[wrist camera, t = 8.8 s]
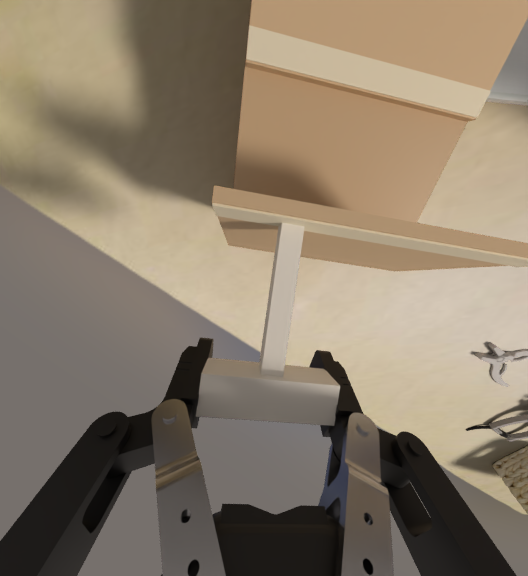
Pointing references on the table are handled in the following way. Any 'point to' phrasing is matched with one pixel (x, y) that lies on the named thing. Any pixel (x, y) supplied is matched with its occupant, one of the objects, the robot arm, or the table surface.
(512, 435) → the bike brake
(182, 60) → the table surface
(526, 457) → the storage basket
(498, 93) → the hard drive
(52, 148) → the table surface
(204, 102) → the table surface
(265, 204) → the right flap
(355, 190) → the carton
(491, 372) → the pliers
